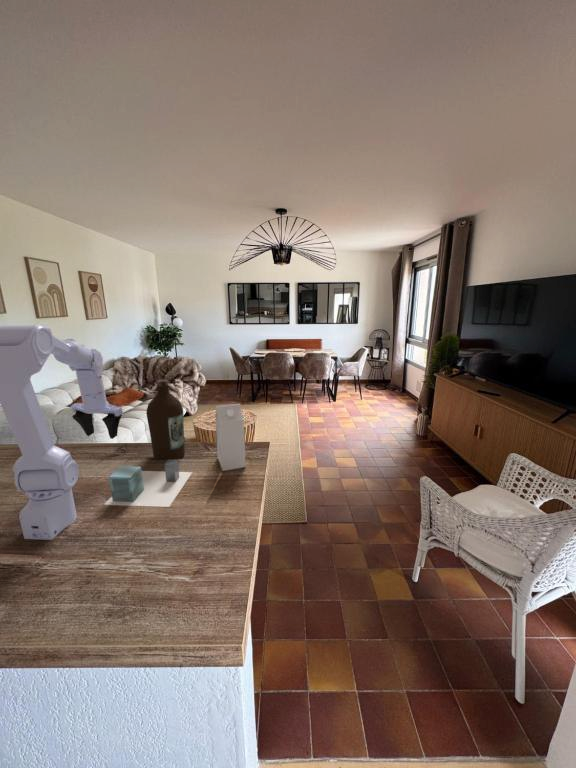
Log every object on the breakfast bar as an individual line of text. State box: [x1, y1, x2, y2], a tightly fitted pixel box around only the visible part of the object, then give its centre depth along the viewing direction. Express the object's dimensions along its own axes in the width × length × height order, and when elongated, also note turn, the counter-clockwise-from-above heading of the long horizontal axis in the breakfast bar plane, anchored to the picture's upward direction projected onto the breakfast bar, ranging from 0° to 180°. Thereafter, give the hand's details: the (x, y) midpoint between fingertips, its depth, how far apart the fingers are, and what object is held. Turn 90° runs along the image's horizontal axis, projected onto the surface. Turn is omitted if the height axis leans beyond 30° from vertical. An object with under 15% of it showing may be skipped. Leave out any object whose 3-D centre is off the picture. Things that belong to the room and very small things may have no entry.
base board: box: [103, 470, 193, 508], centre depth 85 cm, size 16×16×1 cm
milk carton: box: [214, 403, 246, 472], centre depth 97 cm, size 7×7×19 cm
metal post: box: [164, 459, 180, 482], centre depth 88 cm, size 3×3×5 cm
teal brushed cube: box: [108, 465, 144, 502], centre depth 81 cm, size 5×5×7 cm
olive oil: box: [145, 379, 186, 461], centre depth 101 cm, size 11×11×25 cm
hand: (102, 435), depth 94 cm, fingers open, 7 cm apart
